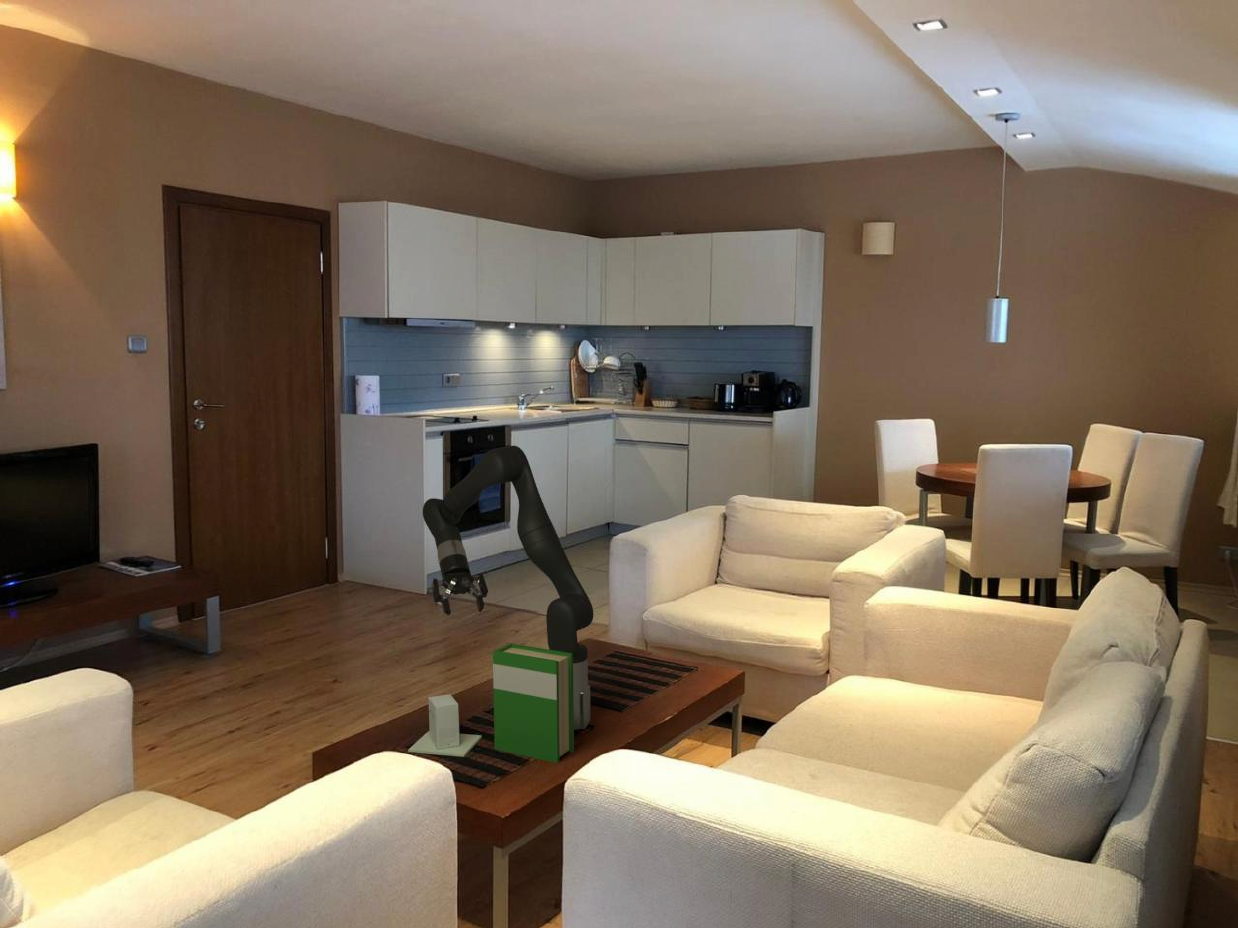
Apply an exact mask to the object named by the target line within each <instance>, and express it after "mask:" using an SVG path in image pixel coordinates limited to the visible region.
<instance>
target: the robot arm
mask: <svg viewBox="0 0 1238 928" xmlns="http://www.w3.org/2000/svg"><path fill="white" fill-rule="evenodd" d="M506 483H511V484H512V486H513V488H514V490H515V493H516V496H517V499H518V512H517V521H516V522H517V524H516V531H517V535H518V538H519V541H520V543H521V545H522V547H523V549H524V551H525V554H526V556H527V557H528V559H529V560H530V561H531V563H533V565H535V566H536V568H538V569H539V570H540V571H541V572H542V573H543V574H544V575H545V576H546V577H548V579H549V580H550V581H551V583H552V584H553V586H554V588H555V590H556V592H557V594H558V598H555V599H554V600H552V601H551V602H550V603H549V604H548V606H547V609H546V617H545V618H546V621H545V623H546V634H547V635H546V636H547V637H546V638H547V646H548V649H549V650H555V651H561V652H567V653H573V700H574V731H575V730H576V731H577V730H585V729H586V728H587V727H588V725H589V724H590V722H591V685H590V684H589V683H588V682H589V680H588V678H589V673H588V671H589V663H588V662H589V660H588V659H589V658H588V655H589V654H588V652H589V651H588V647H587V646H586V645H584V644H583V643H579V642H578V631H580V630H583V629H586V628H587V627H589V626H590V625H591V624H592V622H593V620H594V616H595V615H594V609H593V605H592V602H591V600H590V598H589V596H588V594H587V593H586V591H585V589H584V587H583V586H582V585H583V584H581V581H580V580H579V579H578V577H577V574H576V573H575V571H574V569H573V567H572V564H571V563H570V560H569V558H568V556H567V554H566V552H565V549H564V547H563V546H562V543H561V541H560V538H559V536H558V533H557V530H556V529H555V527H554V524H553V523H552V522H553V521H552V520H551V519H550V515H549V514H548V512H547V509H546V507H545V505H544V502H543V499H542V497H541V495H540V492H539V489H538V486H537V483H536V480H535V478H534V475H533V471H532V468H531V464H530V462H529V460H528V457H527V455H526V454H525V452H524V450H523V449H522V448H521V447H519V446H517V445H508V446H507V445H506V446H502V447H497V448H496V447H495V448H492V449H490V450H488V451H486V453H484V454H483V455H482V457H481V458H480V459H479V460H478V461H477V463H476V464H475V466H474V467H473V468H472V469H471V470H470V472H468V474H467V475H466V476H465V477H464V478H463V479H461V481H459V482H458V483H457V484H455V485H454V486H452V488H451V489H449V490H448V491H447V492H446V493H445V495H444V497H443V499H440V498H435V497H434V498H432V497H431V498H429V499H427V500H426V501H425V502H424V503H423V506H422V517H423V520H424V523H425V524H426V526H427V527H428V529H429V532H430V533H431V535H432V536H433V538H434V541H435V545H436V550H437V552H436V553H437V559H438V560H437V561H438V564H439V568H440V573H441V577H442V579H439V580H438V578H433V580H432V581H431V582H432V583H431V589H432V590H431V591H432V596H433V597H432V598H433V603H441V606H442V610H443V613H444V614H446V616H450V615H451V613H452V609H451V606H450V600H449V598H450V597H451V595H454V596H456V595H457V596H458V595H465V594H466V593H467V594H468V595H469V596H470V597H473V598H474V599H475V603H476V607H477V610H478V612H479V613H481V612H483V610H484V607H485V604H484V598H487V596H488V594H489V588H488V586H487V582H486V580H485V577H484V574H482V573H480V574H478V576H473V575H472V573H471V570H470V565H469V562H468V558H467V553H466V549H465V547H464V544H463V541H462V537H461V536H462V535H461V532H460V530H459V528H458V527H457V526H455V525H456V524H458V523H459V522H460V520H461V519H462V516H463V515H464V513H465V511H467V509H469V508H471V507H472V506H473V505H474V504H476V502H477V501H478V500H479V499H480V498H481V495H482V492H483V490H485V489H487V488H489V487H492V486H494V485H497V484H499V485H500V484H501V485H502V484H506ZM474 583H475V584H476V585H477V586H478V587H479V589H478V588H477V586H476V585H475V584H474ZM441 586H442V587H444V588H445V589H446V590H445V592H444V593H443V595H441V594H440V588H441Z"/></svg>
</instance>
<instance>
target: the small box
mask: <svg viewBox="0 0 1238 928" xmlns="http://www.w3.org/2000/svg"><path fill="white" fill-rule="evenodd" d="M459 717H460V715H459V702H457V701H456V699H455V698H454V697H453V695H452V694H450V693H449V694H444V695H443V694H442V695H441V694H440V695H435V696H429V697H428V722H429V723H428V724H429V731H430V739H431V740H432V742H433V743H434V745H435V746H436V748H437V749H443V748H449V747H454V746H459V745H460V740H459V734H460V722H459V721H460V718H459Z"/></svg>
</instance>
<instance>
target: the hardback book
mask: <svg viewBox="0 0 1238 928" xmlns="http://www.w3.org/2000/svg"><path fill="white" fill-rule="evenodd" d="M492 675H493V676H492V677H493V678H492V679H493V723H494V724H493V731H494V732H493V733H494V735H493V736H494V738H493V739H494V750H498V751H501V752H506V753H511V754H514V755H519V756H524V757H527V758H534V759H537V760H542V761H546V762H551V763H554V764H555V763H556V764H559V763H560V757H562V756H563V755H564V754H566V753H569V754H573V753H574V752H575V730H574V700H573V653H567V652H561V651H555V650H550V649H549V648H542V647H535V646H530V645H523V644H517V643H508V644H506V645H505V646H502V647H499V648H497V649H495V650H493V651H492Z"/></svg>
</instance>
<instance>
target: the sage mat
mask: <svg viewBox="0 0 1238 928" xmlns="http://www.w3.org/2000/svg"><path fill="white" fill-rule="evenodd" d="M482 737H483V736H482V735H481V734H480V735H479V734H468V733H467V734H464V733H459V740H460V745H459V746H454V747H449V748H443V749H437V748H436V746H435V745H434V743H433V742H432V740H431V739H430V730H428V731H427V732H426V733H425V734H424V735H423V736H421V737H420V738H419V739H418V740H417V741H416V742H415V743H414V744H413V745H412V746H411V747H409V748H408V750H407V751H408V753H418V754H426V755H427V754H430V755H441V756H453V757H463V758H464V757H465V756H467V754H468V753H469V752H470V751H471V750H472V749H473V748H474V747H475V746H476V744H477V743H478V742H479V741H480V740H481V739H482Z"/></svg>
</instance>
